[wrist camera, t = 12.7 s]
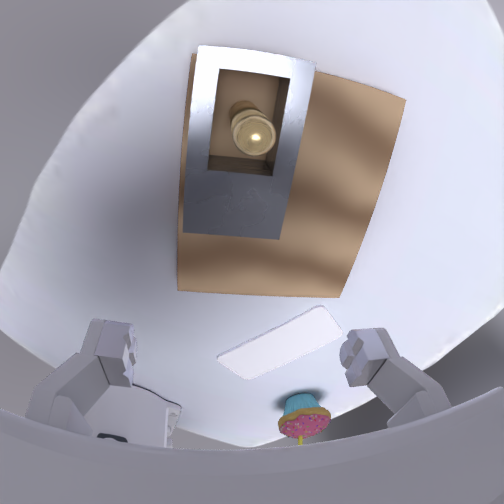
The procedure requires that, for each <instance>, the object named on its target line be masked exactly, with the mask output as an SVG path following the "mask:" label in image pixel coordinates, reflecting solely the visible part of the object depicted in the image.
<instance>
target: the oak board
mask: <svg viewBox="0 0 504 504" xmlns="http://www.w3.org/2000/svg"><path fill="white" fill-rule="evenodd" d="M196 61H197V54H192V57H191V64H190V72H189V80H188V88H187V97H186V106H185V116H184V127H183V139H182V152H181V167H180V184H179V207H178V247H177V287H178V291H190V292H205V293H221V294H239V295H260V296H285V297H319V298H339V297H340V295H341V293H342V290H343V288H344V286H345V283H346V281H347V279H348V276H349V274H350V271H351V269H352V266H353V264H354V262H355V259H356V256H357V254H358V251H359V249H360V246H361V244H362V241H363V238H364V236H365V233H366V230H367V228H368V225H369V222H370V219H371V217H372V214H373V211H374V208H375V205H376V202H377V199H378V196H379V193H380V190H381V187H382V184H383V181H384V178H385V175H386V172H387V168H388V165H389V162H390V159H391V155H392V152H393V148H394V145H395V141H396V138H397V134H398V130H399V127H400V123H401V119H402V115H403V111H404V107H405V103H406V100H405V99H403V98H400V97H398V96H395V95H392V94H390V93H387V92H384V91H381V90H378V89H376V88H373V87H370V86H367V85H363V84H360V83H357V82H354V81H350V80H347V79H344V78H340V77H336V76H333V75H329V74H325V73H321V72H317V71H315V73H314V78H313V83H312V88H311V93H310V99H309V104H308V109H307V114H306V118H305V123H304V128H303V133H302V138H301V143H300V148H299V152H298V157H297V162H296V166H295V171H294V176H293V180H292V185H291V190H290V194H289V199H288V203H287V208H286V212H285V217H284V221H283V225H282V230H281V234H280V239H279V240H274V239H262V238H249V237H236V236H223V235H209V234H195V233H183V206H184V186H185V169H186V155H187V143H188V131H189V120H190V110H191V101H192V92H193V84H194V76H195V68H196ZM279 79H280V77H276V76H270V75H264V74H257V73H250V72H242V71H233V70H224V69H220V72H219V79H218V86H217V94H216V101H215V109H214V117H213V125H212V134H211V143H210V152H209V155H218V156H229V157H239V158H249V159H257V160H265V158H266V154H264V155H261V156H256V157H252V156H247V155H245V154H243V153H241V152H240V151H239V150H238V149H237V148H236V146H235V145H234V142H233V138H232V131H231V125H230V118H229V112H230V109H231V107H232V106H233V105H234V104H235V103H236V102H239V101H243V100H245V101H250V102H252V103H253V104H255V105H256V107H257V108H258V109H259V110H260V111H261V112H262V113H263V114H264V115H265V116H266V117H267V118H268V119H269V120H270V121H271V122H272V119H273V113H274V107H275V102H276V96H277V90H278V85H279Z"/></svg>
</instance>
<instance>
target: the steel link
mask: <svg viewBox="0 0 504 504" xmlns="http://www.w3.org/2000/svg"><path fill="white" fill-rule="evenodd" d="M315 68H316V62H312V61H307V60H303V59H298V58H294V57H289V56H283V55H278V54H272V53H266V52H260V51H253V50H246V49H237V48H228V47H217V46H204V45H199V47H198V54H197V61H196V68H195V76H194V84H193V92H192V101H191V110H190V120H189V131H188V143H187V155H186V169H185V186H184V206H183V233H195V234H209V235H223V236H236V237H249V238H262V239H274V240H279V239H280V234H281V230H282V225H283V221H284V217H285V212H286V208H287V203H288V199H289V194H290V190H291V185H292V180H293V176H294V171H295V166H296V162H297V157H298V152H299V148H300V143H301V138H302V133H303V128H304V123H305V118H306V114H307V109H308V104H309V99H310V93H311V88H312V83H313V78H314V73H315ZM220 69H224V70H233V71H242V72H250V73H257V74H264V75H270V76H276V77H280V79H279V85H278V90H277V96H276V102H275V107H274V113H273V119H272V124H273V125H274V128H275V130H276V141H275V144H274V146H273V147H272V149H271V150H270V151H269V152H267V153H266V158H265V160H257V159H249V158H239V157H229V156H218V155H209V152H210V143H211V134H212V125H213V117H214V109H215V101H216V94H217V86H218V79H219V72H220Z"/></svg>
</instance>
